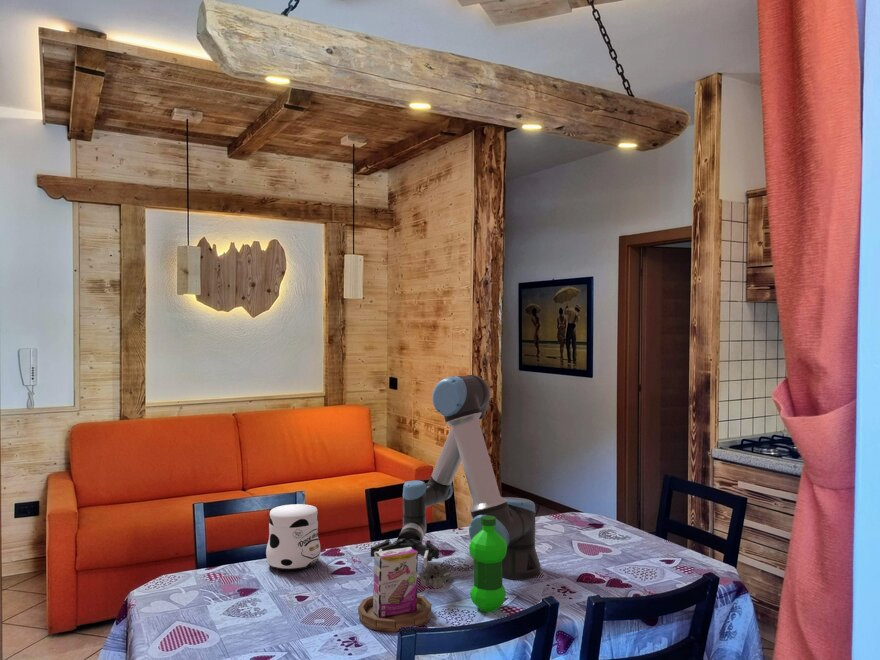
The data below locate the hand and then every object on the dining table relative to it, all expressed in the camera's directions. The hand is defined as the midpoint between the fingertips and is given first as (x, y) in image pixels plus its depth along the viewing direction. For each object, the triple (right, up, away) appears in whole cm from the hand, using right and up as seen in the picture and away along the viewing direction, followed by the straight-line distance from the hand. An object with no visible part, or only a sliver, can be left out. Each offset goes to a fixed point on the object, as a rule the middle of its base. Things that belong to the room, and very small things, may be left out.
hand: (400, 562), depth 189 cm
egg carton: (+10, -12, +16) cm, 22 cm away
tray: (-1, -11, -10) cm, 15 cm away
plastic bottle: (+24, -12, -4) cm, 27 cm away
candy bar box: (-1, -10, -10) cm, 14 cm away
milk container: (-37, -11, +29) cm, 48 cm away
